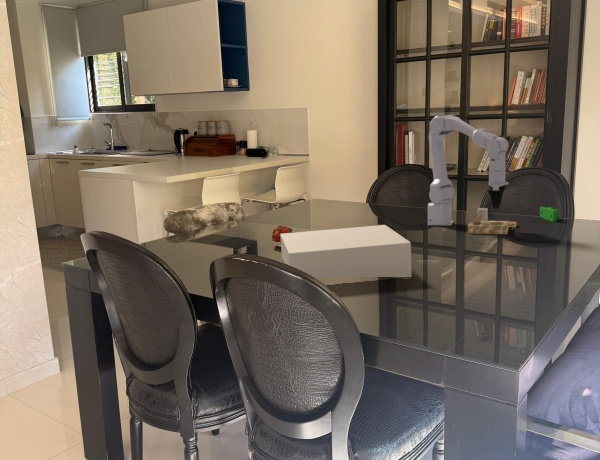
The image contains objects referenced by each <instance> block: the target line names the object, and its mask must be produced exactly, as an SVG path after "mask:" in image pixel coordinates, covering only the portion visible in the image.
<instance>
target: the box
mask: <svg viewBox="0 0 600 460" xmlns="http://www.w3.org/2000/svg"><path fill="white" fill-rule="evenodd" d="M280 237H281V248H280V249H281V259H282V258H283V260H284V262H285V263H286V264H288V265H290V266H292V267H295V268H298V269H300V270H302V271H304V272H306V273H308V274H310V275H312V276H314V277H315V278H319V279H320V278H321V279H322V278H341V277H412V245H411V244H412V243H411V241H409V240H408V239H406V237H404V236H402V235H400V234H399V233H398V232H396V231H395V230H393V229H392V228H390V226H387V225H386V224H378V225H367V226H357V227H344V228H333V229H331V228H330V229H320V230H309V231H308V230H307V231H299V232H298V231H297V232H293V233H284V234H280ZM412 278H413V277H412Z"/></svg>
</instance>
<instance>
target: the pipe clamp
mask: <svg viewBox="0 0 600 460" xmlns="http://www.w3.org/2000/svg"><path fill="white" fill-rule="evenodd" d="M559 214H560V213H559V208H554V207H550V206H549V207H544V206H540V207H539V218H541V217H542V219H544V220H547V221H550V222H552V223H556V222H557V221H559Z"/></svg>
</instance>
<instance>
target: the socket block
mask: <svg viewBox="0 0 600 460" xmlns="http://www.w3.org/2000/svg"><path fill="white" fill-rule="evenodd" d="M509 222H510V221H509V220H487V221H477V220H470V221H469V223H468V225H467V234H477V235H478V234H479V235H481V234H482V235H508V233H509V229H510V228H509Z"/></svg>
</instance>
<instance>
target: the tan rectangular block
mask: <svg viewBox="0 0 600 460" xmlns="http://www.w3.org/2000/svg"><path fill="white" fill-rule="evenodd" d="M509 227H512V228H511V229H516V228H517V221H509ZM513 227H514V228H513Z"/></svg>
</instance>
